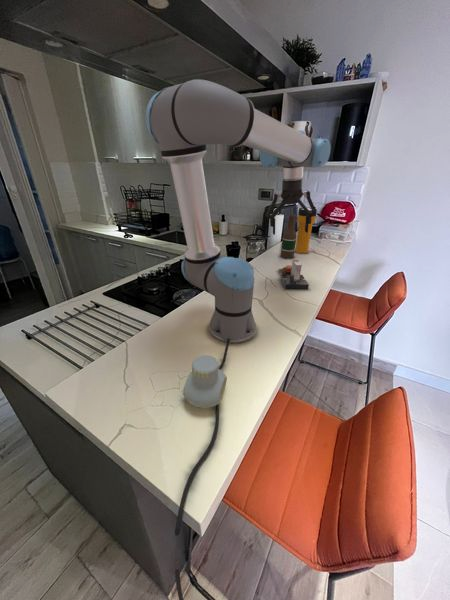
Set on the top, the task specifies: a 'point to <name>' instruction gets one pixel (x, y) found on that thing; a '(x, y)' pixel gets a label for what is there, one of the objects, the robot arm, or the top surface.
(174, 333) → the top surface
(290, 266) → the button
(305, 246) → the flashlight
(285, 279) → the control panel
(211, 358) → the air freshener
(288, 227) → the beer bottle
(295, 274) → the white upright panel
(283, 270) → the button block
